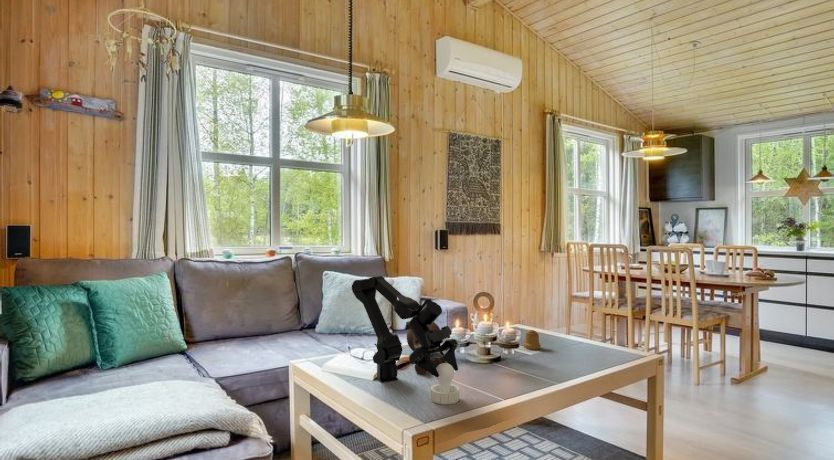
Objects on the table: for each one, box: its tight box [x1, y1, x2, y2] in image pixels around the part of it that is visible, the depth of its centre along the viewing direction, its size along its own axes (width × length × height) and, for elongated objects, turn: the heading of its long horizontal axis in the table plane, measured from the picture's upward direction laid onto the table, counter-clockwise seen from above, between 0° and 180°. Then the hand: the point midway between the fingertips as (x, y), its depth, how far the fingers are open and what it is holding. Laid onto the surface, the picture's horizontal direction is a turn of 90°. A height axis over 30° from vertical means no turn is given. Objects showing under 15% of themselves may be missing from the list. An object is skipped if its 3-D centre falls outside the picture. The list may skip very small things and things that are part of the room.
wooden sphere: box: [406, 321, 441, 352], centre depth 206 cm, size 15×15×15 cm
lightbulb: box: [436, 362, 455, 393], centre depth 155 cm, size 6×6×11 cm
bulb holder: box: [430, 383, 460, 406], centre depth 155 cm, size 9×9×4 cm
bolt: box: [414, 355, 447, 376], centre depth 186 cm, size 6×5×15 cm
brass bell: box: [523, 329, 541, 351], centre depth 218 cm, size 8×8×8 cm
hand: (447, 373), depth 154 cm, fingers open, 9 cm apart
